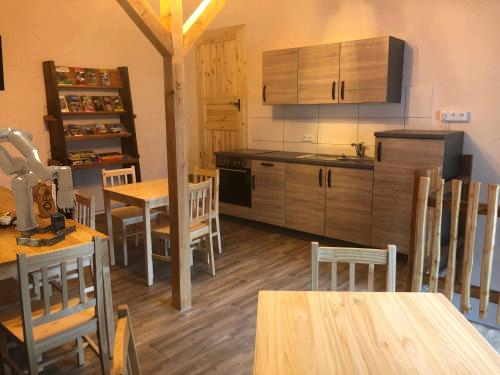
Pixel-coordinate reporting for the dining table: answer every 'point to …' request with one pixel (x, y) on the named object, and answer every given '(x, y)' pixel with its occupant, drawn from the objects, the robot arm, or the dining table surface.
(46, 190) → the coffee package
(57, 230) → the box
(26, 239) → the trap lane
